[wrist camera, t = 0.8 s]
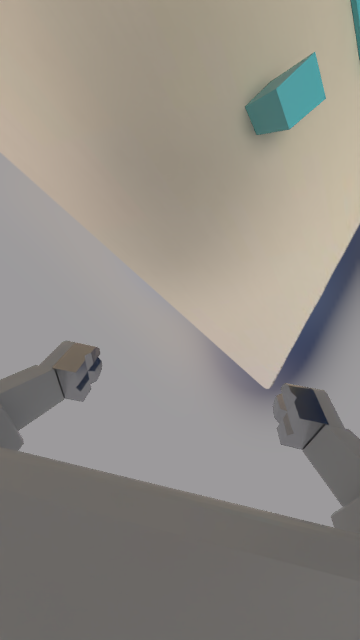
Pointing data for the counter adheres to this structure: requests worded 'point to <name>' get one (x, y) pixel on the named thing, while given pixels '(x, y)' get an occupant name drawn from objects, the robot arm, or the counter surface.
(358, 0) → the teal pad
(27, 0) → the counter surface
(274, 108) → the teal column
